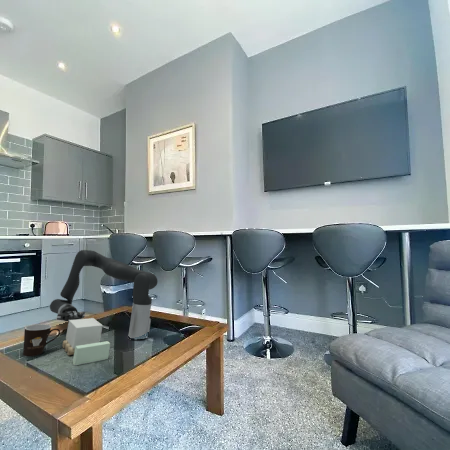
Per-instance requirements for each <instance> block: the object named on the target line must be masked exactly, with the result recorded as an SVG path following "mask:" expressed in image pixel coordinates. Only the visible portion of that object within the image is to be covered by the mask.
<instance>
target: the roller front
mask: <svg viewBox="0 0 450 450" xmlns="http://www.w3.org/2000/svg"><path fill="white" fill-rule="evenodd" d="M74 351H75V348H74V349H73V348H72V347H68V350H67V352H66V353H67V356H72V355H73V356H74Z"/></svg>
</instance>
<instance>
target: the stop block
mask: <svg viewBox="0 0 450 450" xmlns="http://www.w3.org/2000/svg"><path fill="white" fill-rule="evenodd" d="M110 348H111V343H110V342H109V341H107V340H106V341H100V342H99V343H92V344H86V345H79V346H75V351H74V355H73V359H72V364H73V366H79V365H84V364H90V363H95V362H99V361H104V360H108V359H109V355H110Z"/></svg>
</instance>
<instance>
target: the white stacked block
mask: <svg viewBox="0 0 450 450" xmlns="http://www.w3.org/2000/svg"><path fill="white" fill-rule="evenodd" d="M102 330H103V324H102V323H100V322H99V321H97V319H95V318H94V317H90V318H82V319H77V320H69V321H68V324H67V330H66V335H65V340H67V341H68V343H69V344H70V345H71V347H72V348H73V349H74V348H75V346H79V345H86V344H92V343H99V342H101V336H102Z"/></svg>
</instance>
